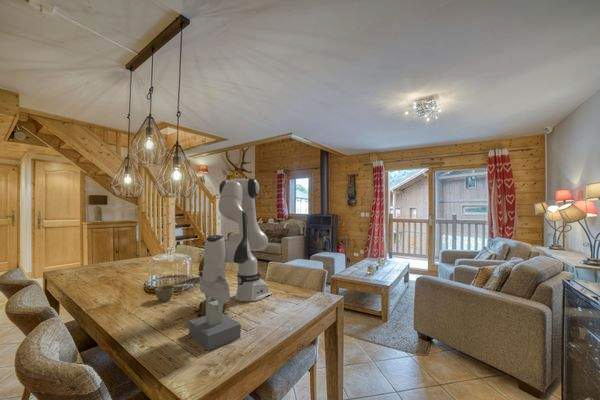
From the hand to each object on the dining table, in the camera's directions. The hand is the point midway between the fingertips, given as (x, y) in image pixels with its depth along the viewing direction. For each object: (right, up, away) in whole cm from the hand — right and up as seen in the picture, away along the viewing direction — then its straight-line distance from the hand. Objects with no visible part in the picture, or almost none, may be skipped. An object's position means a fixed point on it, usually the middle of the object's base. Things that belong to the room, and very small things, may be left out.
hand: (214, 307), depth 111 cm
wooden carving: (-7, -12, +17) cm, 22 cm away
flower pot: (-41, -12, +39) cm, 58 cm away
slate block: (0, -12, 0) cm, 12 cm away
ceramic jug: (-30, -13, +85) cm, 91 cm away
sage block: (0, -6, 0) cm, 6 cm away
